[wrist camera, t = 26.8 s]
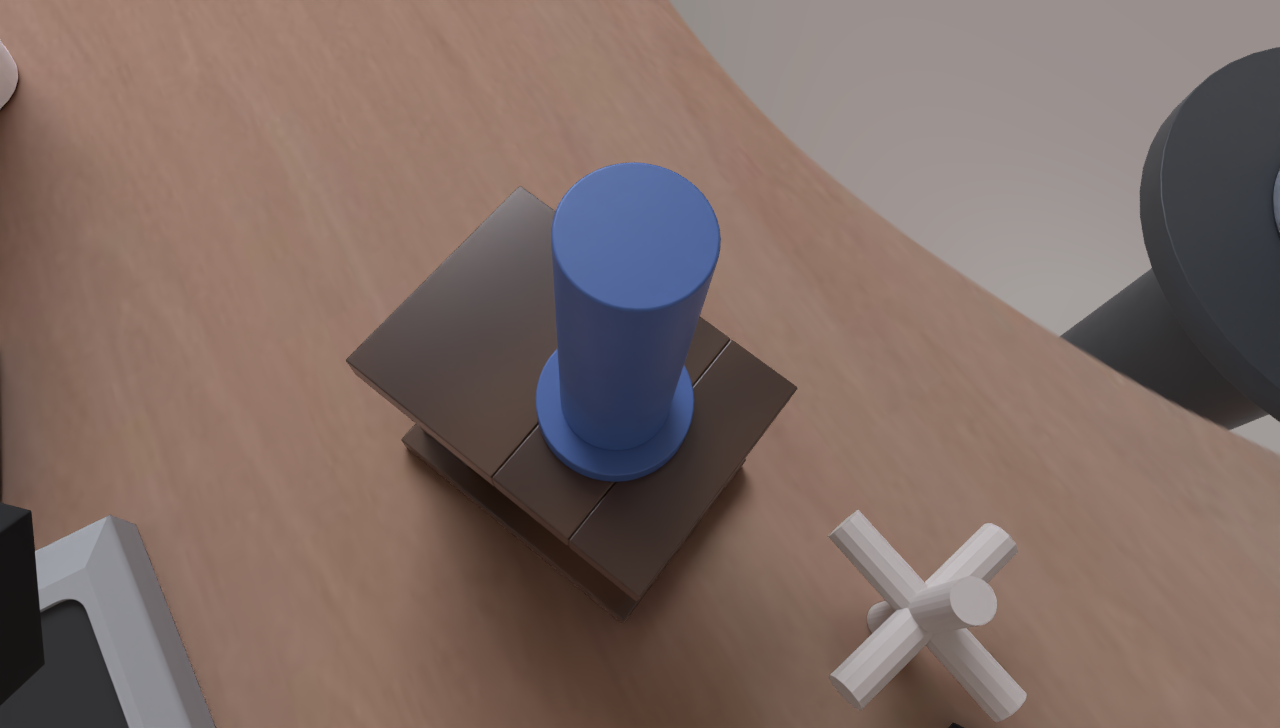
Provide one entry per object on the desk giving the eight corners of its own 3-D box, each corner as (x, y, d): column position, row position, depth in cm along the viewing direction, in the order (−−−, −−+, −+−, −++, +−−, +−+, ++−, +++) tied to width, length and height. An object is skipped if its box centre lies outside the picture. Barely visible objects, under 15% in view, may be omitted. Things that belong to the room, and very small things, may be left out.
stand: (742, 464, 44) (798, 387, 33) (622, 624, 41) (639, 598, 30) (533, 306, 47) (519, 184, 35) (404, 445, 43) (344, 359, 32)
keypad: (95, 509, 38) (222, 841, 34) (135, 524, 41) (254, 827, 37) (-139, 622, 35) (-35, 994, 31) (-76, 629, 39) (26, 964, 35)
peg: (700, 439, 38) (806, 220, 21) (619, 542, 36) (659, 398, 19) (598, 362, 39) (616, 90, 22) (515, 458, 37) (459, 247, 20)
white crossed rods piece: (1027, 634, 42) (1155, 618, 33) (888, 781, 39) (985, 808, 30) (882, 479, 44) (963, 422, 35) (741, 607, 42) (789, 582, 32)
